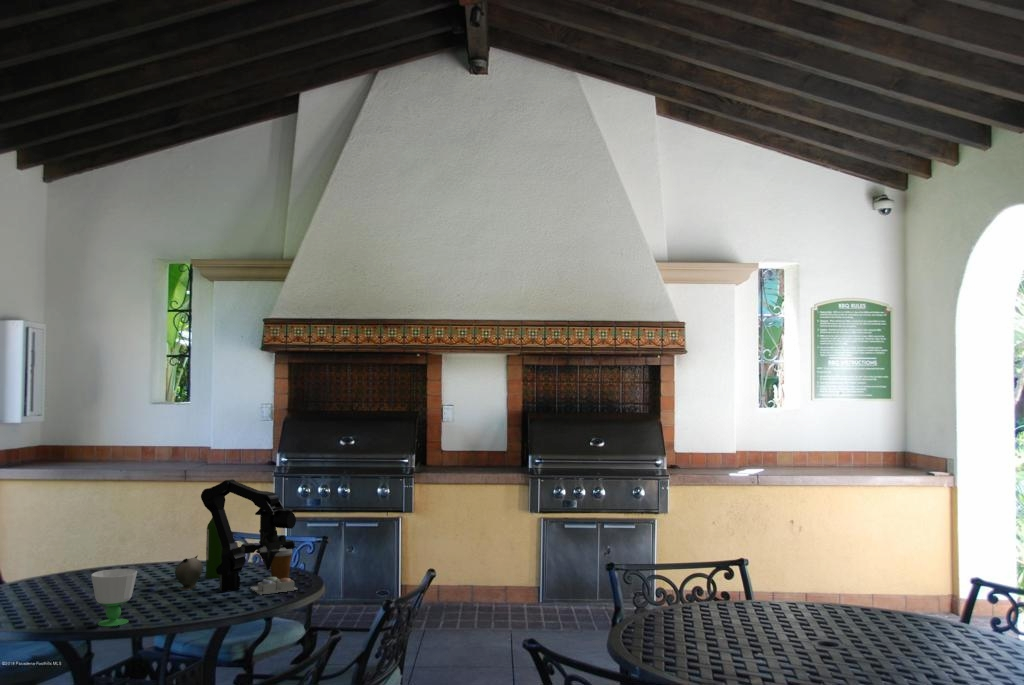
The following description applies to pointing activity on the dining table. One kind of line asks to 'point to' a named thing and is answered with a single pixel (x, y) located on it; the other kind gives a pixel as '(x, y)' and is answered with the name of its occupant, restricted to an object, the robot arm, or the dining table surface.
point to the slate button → (267, 582)
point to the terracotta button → (285, 580)
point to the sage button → (272, 578)
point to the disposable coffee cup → (281, 563)
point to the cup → (113, 592)
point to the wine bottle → (212, 551)
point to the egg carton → (274, 587)
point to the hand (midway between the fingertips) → (267, 569)
